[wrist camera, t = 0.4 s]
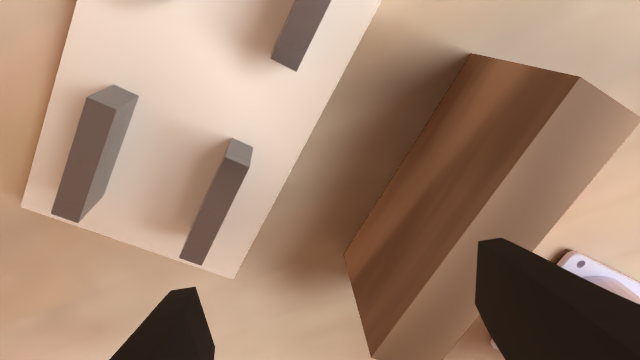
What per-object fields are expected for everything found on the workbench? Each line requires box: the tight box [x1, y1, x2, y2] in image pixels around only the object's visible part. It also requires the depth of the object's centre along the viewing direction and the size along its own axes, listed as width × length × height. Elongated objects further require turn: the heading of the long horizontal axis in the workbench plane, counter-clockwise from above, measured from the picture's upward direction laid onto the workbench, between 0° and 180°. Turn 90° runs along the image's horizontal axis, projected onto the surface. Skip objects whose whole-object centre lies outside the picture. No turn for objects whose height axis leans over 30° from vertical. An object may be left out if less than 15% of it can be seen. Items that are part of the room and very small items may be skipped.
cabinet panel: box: [20, 0, 382, 280], centre depth 16 cm, size 10×18×1 cm, turn 152°
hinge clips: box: [51, 0, 331, 266], centre depth 14 cm, size 6×14×2 cm, turn 152°
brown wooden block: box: [344, 53, 640, 360], centre depth 17 cm, size 4×12×7 cm, turn 152°
